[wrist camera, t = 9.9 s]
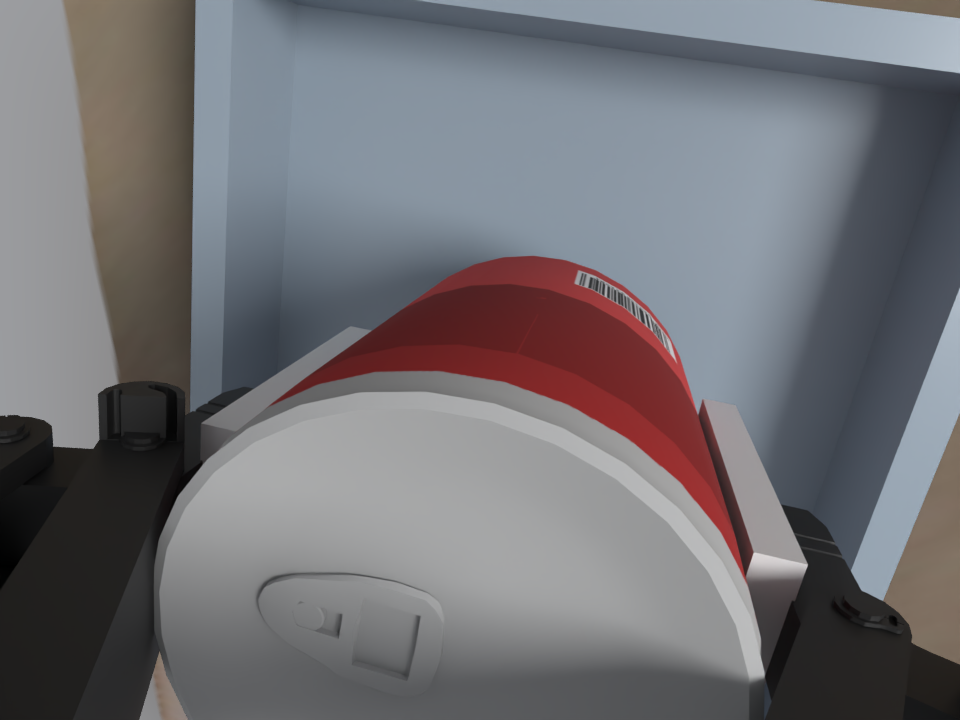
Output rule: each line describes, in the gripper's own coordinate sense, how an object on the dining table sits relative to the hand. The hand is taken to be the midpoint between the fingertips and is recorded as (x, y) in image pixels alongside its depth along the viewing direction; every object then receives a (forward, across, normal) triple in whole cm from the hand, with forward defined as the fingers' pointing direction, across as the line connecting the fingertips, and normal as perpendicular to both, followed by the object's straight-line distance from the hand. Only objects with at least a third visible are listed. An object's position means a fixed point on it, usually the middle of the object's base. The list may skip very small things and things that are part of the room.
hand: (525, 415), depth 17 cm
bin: (+6, 0, 0) cm, 6 cm away
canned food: (+2, 0, 0) cm, 2 cm away
